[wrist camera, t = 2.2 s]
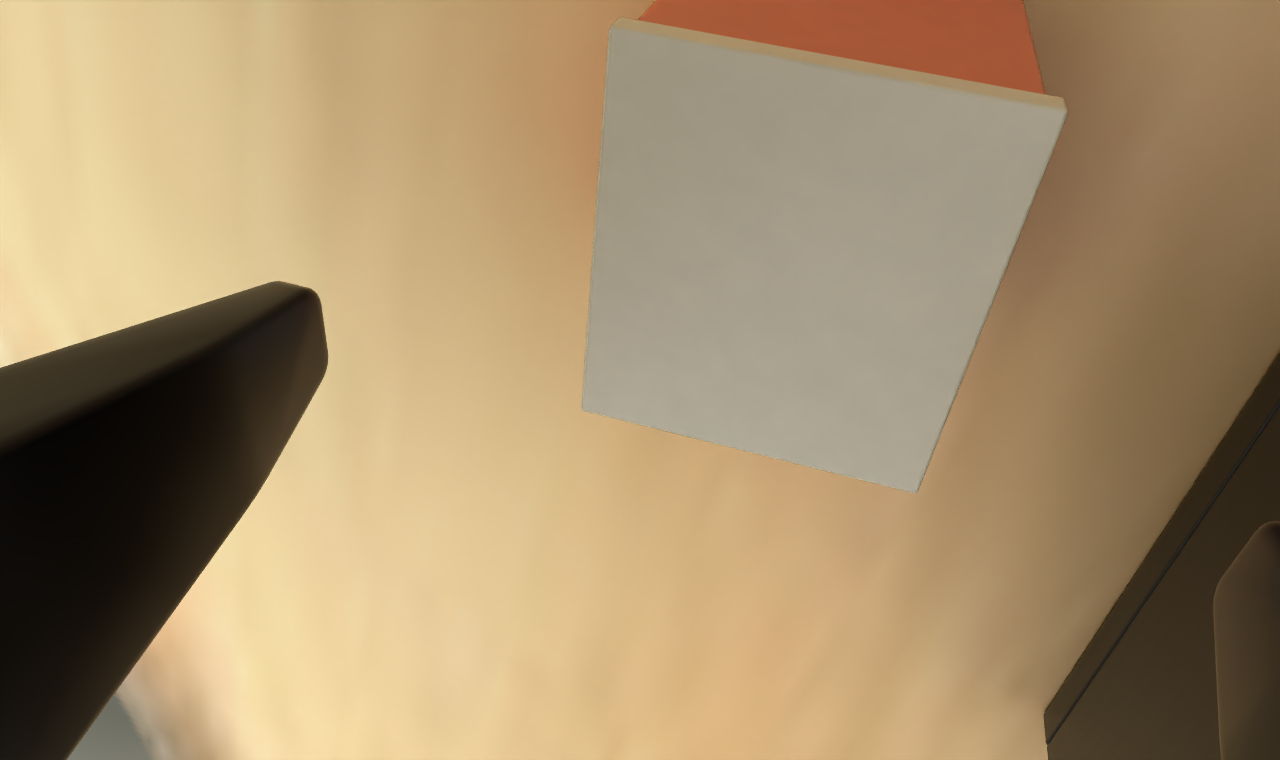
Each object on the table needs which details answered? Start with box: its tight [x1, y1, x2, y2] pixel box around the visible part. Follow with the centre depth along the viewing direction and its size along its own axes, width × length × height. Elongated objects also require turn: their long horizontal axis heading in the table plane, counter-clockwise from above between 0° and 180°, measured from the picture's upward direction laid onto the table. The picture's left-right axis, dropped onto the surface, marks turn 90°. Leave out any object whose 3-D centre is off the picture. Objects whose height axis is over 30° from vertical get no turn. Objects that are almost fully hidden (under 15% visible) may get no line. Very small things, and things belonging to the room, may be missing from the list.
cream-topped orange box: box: [581, 0, 1067, 493], centre depth 13 cm, size 5×5×5 cm
